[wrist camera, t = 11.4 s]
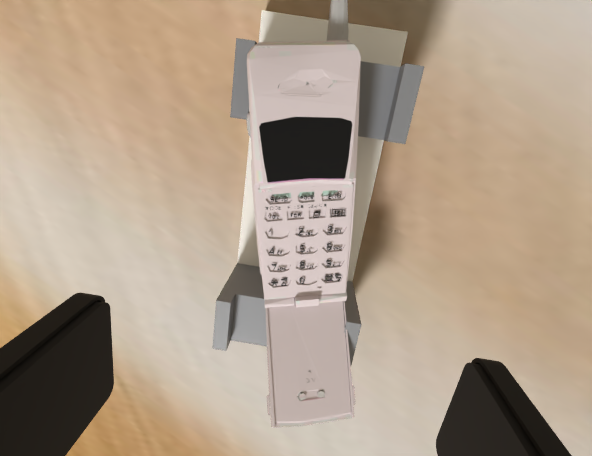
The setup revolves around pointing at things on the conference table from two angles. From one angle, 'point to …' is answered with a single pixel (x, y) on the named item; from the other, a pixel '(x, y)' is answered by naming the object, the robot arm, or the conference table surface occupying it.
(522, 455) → the robot arm
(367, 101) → the cradle stand
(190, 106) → the conference table surface
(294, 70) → the mobile phone
